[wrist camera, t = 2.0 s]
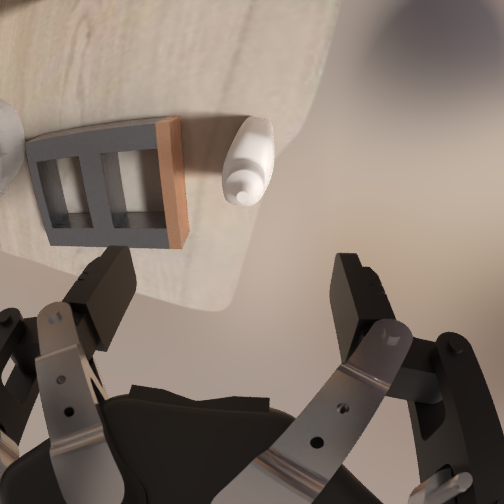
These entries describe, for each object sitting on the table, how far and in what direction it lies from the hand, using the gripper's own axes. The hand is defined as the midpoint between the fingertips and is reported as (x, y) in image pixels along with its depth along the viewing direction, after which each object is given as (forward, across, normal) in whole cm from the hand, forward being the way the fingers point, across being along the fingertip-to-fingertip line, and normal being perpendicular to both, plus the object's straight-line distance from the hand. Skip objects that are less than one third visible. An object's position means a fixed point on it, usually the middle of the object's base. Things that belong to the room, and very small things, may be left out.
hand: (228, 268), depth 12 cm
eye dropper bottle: (+19, 0, 0) cm, 19 cm away
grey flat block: (+19, +14, +3) cm, 24 cm away
